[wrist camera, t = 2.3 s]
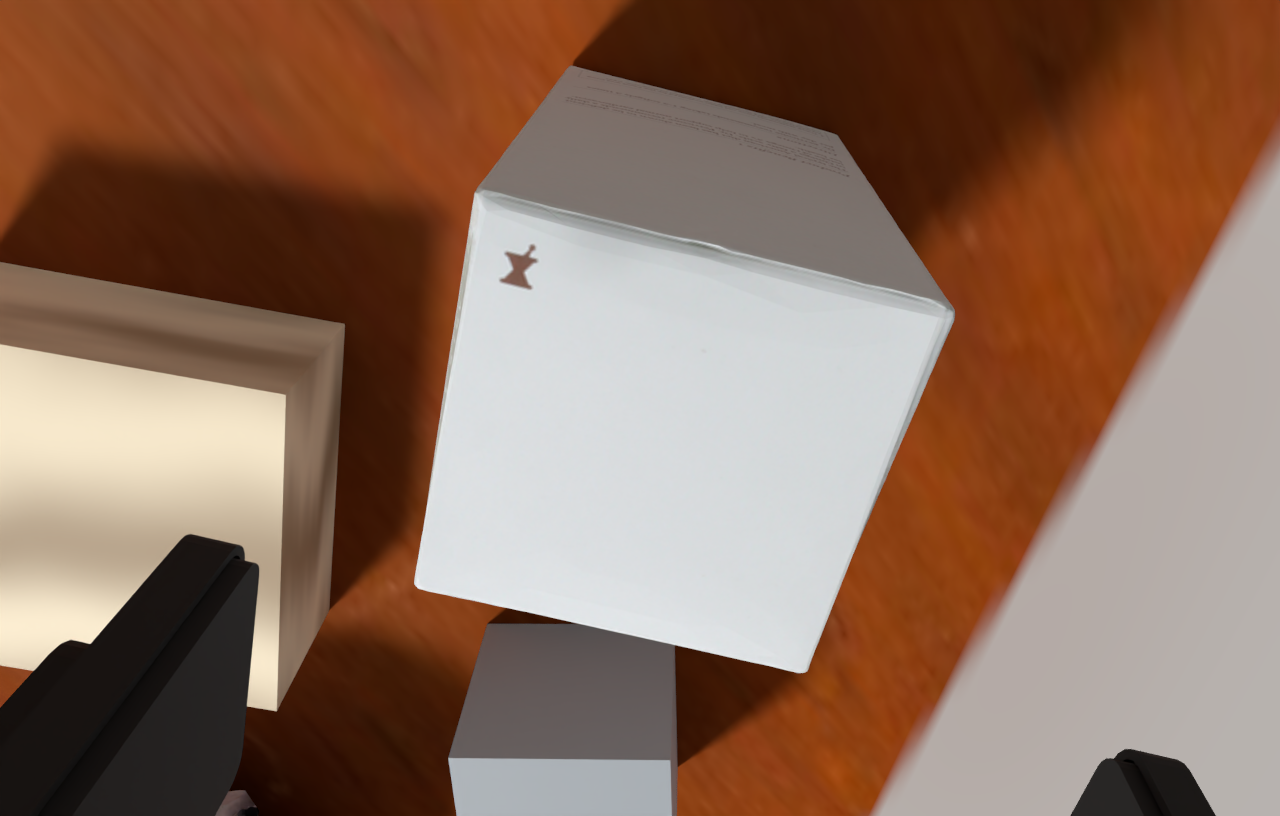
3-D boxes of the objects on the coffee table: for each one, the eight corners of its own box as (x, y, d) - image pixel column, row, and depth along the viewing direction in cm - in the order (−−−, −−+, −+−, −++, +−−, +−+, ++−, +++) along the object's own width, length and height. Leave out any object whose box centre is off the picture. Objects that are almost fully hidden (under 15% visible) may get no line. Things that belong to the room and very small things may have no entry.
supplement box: (510, 326, 29) (391, 593, 18) (567, 56, 26) (468, 171, 15) (764, 390, 30) (808, 691, 18) (851, 133, 27) (970, 303, 15)
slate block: (488, 621, 34) (448, 758, 28) (674, 622, 33) (670, 760, 28) (504, 763, 36) (470, 913, 31) (677, 765, 36) (674, 917, 31)
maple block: (-7, 256, 29) (-134, 320, 25) (348, 320, 30) (285, 394, 25) (22, 551, 34) (-82, 651, 29) (332, 604, 34) (276, 711, 30)
